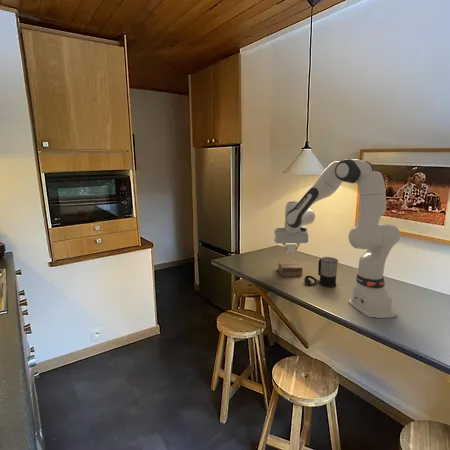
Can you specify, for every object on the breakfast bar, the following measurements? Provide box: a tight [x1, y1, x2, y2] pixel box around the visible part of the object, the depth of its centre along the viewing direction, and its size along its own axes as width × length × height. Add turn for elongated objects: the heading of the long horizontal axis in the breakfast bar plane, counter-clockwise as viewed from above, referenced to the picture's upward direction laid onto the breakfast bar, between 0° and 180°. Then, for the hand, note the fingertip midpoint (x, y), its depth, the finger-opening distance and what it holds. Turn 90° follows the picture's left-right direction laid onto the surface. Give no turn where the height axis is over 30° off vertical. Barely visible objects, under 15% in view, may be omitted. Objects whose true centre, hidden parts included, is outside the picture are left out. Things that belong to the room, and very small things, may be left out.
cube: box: [285, 243, 297, 255], centre depth 192 cm, size 5×5×5 cm
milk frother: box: [303, 256, 339, 289], centre depth 175 cm, size 14×16×15 cm
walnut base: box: [277, 261, 303, 277], centre depth 195 cm, size 12×12×5 cm
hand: (290, 249), depth 192 cm, fingers closed on cube, 5 cm apart
